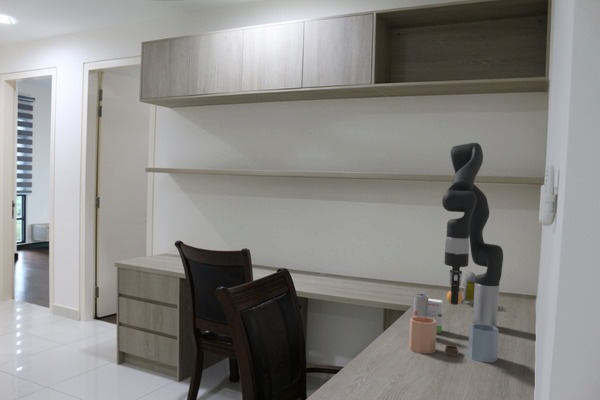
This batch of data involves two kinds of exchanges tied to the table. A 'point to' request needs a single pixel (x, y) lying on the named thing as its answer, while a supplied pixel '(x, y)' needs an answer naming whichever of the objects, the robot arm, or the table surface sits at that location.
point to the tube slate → (483, 342)
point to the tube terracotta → (422, 334)
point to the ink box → (436, 312)
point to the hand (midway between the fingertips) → (454, 302)
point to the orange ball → (458, 297)
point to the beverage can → (420, 305)
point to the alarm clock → (469, 287)
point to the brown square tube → (451, 350)
